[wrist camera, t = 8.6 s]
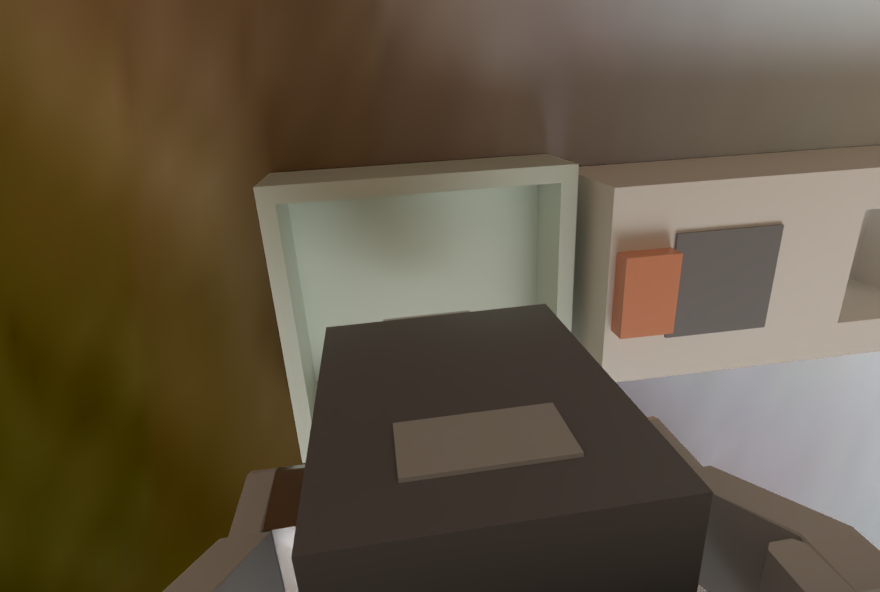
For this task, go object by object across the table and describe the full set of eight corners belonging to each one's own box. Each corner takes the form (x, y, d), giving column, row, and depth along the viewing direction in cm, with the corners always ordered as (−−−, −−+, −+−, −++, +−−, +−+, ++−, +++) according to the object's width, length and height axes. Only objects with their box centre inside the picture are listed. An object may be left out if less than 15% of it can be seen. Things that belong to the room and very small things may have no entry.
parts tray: (548, 153, 17) (578, 163, 15) (542, 388, 21) (566, 429, 18) (269, 173, 16) (253, 187, 14) (310, 416, 20) (302, 463, 17)
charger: (510, 262, 14) (713, 487, 6) (512, 414, 16) (671, 748, 8) (332, 279, 14) (290, 551, 6) (354, 435, 16) (346, 817, 7)
